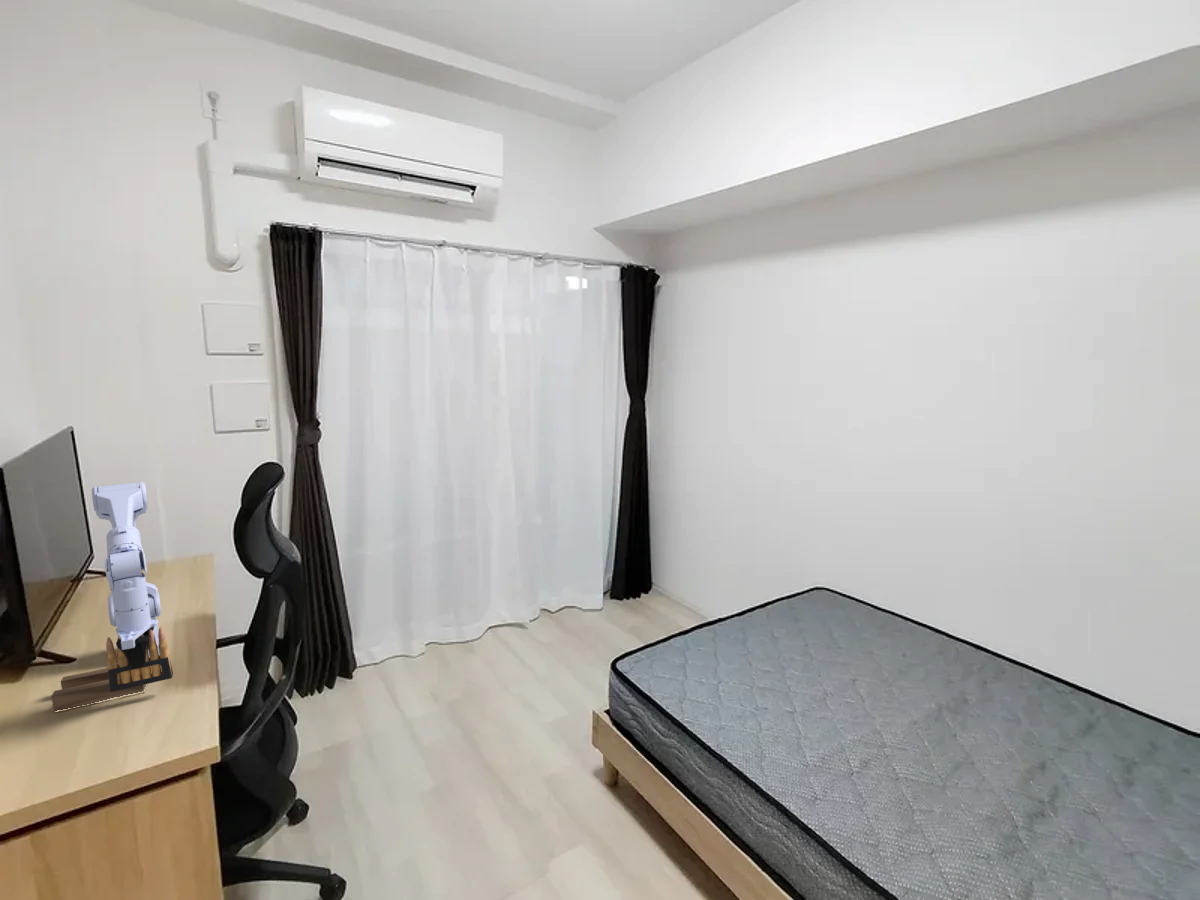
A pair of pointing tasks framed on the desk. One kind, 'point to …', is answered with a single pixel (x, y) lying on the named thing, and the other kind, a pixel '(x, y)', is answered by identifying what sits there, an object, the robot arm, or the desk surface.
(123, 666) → the ammunition clip
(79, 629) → the desk surface
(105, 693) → the walnut rack
